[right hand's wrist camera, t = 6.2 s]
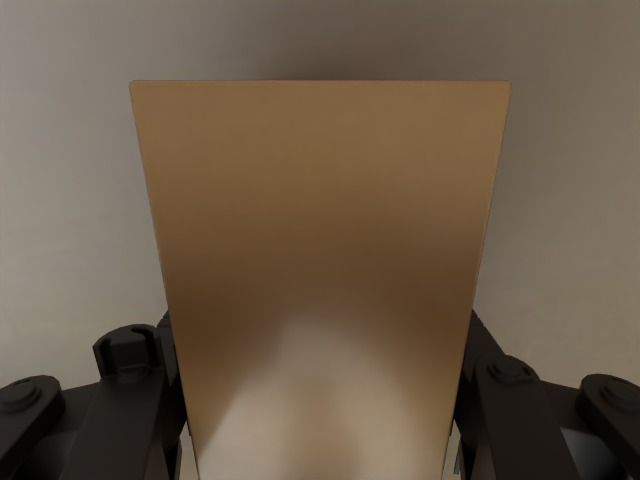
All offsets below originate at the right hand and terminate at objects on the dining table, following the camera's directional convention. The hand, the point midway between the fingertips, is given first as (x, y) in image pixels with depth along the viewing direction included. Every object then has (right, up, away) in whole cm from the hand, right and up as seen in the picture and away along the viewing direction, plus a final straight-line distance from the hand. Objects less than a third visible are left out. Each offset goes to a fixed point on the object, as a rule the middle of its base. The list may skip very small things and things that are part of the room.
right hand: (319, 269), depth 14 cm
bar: (0, -17, +7) cm, 19 cm away
